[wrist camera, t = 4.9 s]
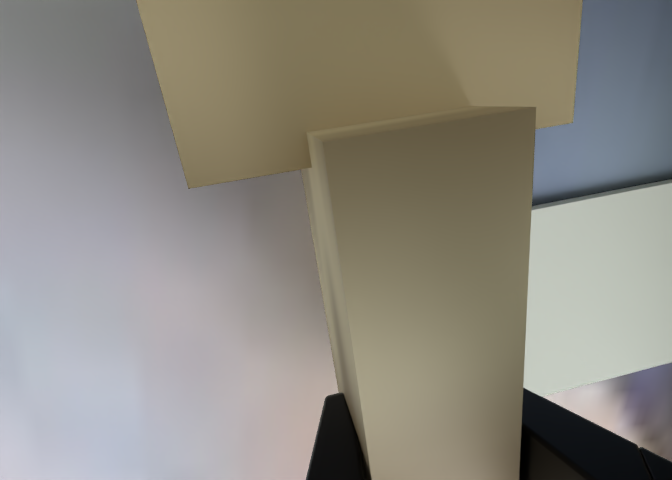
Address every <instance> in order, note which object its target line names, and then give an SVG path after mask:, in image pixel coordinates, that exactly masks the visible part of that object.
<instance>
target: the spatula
mask: <svg viewBox="0 0 672 480" xmlns="http://www.w3.org/2000/svg"><path fill="white" fill-rule="evenodd" d="M136 2H137V6H138V9H139V13H140V16H141V20H142V24H143V27H144V31H145V34H146V38H147V41H148V45H149V49H150V52H151V56H152V59H153V63H154V67H155V70H156V74H157V77H158V81H159V85H160V88H161V92H162V95H163V99H164V102H165V106H166V110H167V113H168V117H169V120H170V124H171V128H172V131H173V135H174V138H175V142H176V145H177V149H178V153H179V156H180V160H181V163H182V167H183V171H184V174H185V178H186V181H187V185H188V189H190V188H196V187H202V186H207V185H213V184H219V183H225V182H231V181H237V180H242V179H248V178H254V177H260V176H266V175H272V174H277V173H283V172H289V171H295V170H301V173H302V179H303V185H304V190H305V196H306V202H307V208H308V214H309V220H310V226H311V232H312V238H313V244H314V249H315V255H316V261H317V267H318V273H319V279H320V285H321V291H322V297H323V303H324V308H325V314H326V320H327V326H328V332H329V338H330V344H331V350H332V356H333V362H334V367H335V373H336V379H337V385H338V391H339V393H341V392H342V393H344V396H345V399H346V402H347V405H348V408H349V411H350V414H351V417H352V420H353V423H354V426H355V429H356V432H357V435H358V438H359V442H360V447H361V453H362V460H363V466H364V473H365V479H366V480H519V468H520V447H521V425H522V404H523V382H524V361H525V339H526V318H527V297H528V275H529V254H530V232H531V211H532V189H533V168H534V147H535V129H540V128H545V127H551V126H557V125H563V124H569V123H573V116H574V103H575V90H576V78H577V65H578V53H579V40H580V28H581V15H582V3H583V0H136Z"/></svg>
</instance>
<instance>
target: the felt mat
mask: <svg viewBox="0 0 672 480" xmlns="http://www.w3.org/2000/svg"><path fill="white" fill-rule="evenodd" d="M670 362H672V179H669V180H664V181H659V182H654V183H649V184H644V185H638V186H633V187H628V188H623V189H618V190H613V191H608V192H602V193H597V194H592V195H587V196H582V197H577V198H571V199H566V200H561V201H556V202H551V203H546V204H540V205H535V206H532V211H531V232H530V254H529V275H528V297H527V318H526V339H525V361H524V382H523V388H525V389H527V390H529V391H531V392H533V393H535V394H537V395H539V396H541V397H543V396H547V395H550V394H554V393H558V392H562V391H565V390H569V389H573V388H577V387H580V386H584V385H588V384H592V383H595V382H599V381H603V380H607V379H610V378H614V377H618V376H622V375H625V374H629V373H633V372H637V371H640V370H644V369H648V368H652V367H655V366H659V365H663V364H667V363H670Z"/></svg>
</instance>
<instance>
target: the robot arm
mask: <svg viewBox="0 0 672 480" xmlns="http://www.w3.org/2000/svg"><path fill="white" fill-rule="evenodd" d="M306 480H366V479H365V473H364V466H363V460H362V453H361V447H360V442H359V438H358V435H357V432H356V429H355V426H354V423H353V420H352V417H351V414H350V411H349V408H348V405H347V402H346V399H345V396H344V393H342V392H341V393H337V394H333V395H329V396H327V397H326V398H325V401H324V406H323V410H322V414H321V418H320V422H319V427H318V431H317V435H316V439H315V443H314V448H313V452H312V456H311V460H310V464H309V469H308V473H307V477H306ZM519 480H672V462H671V461H669V460H667V459H665V458H663V457H661V456H659V455H657V454H655V453H653V452H651V451H649V450H647V449H645V448H643V447H640V448H638V446H637V445H636V444H635V443H633V442H631V441H629V440H627V439H625V438H623V437H621V436H619V435H617V434H615V433H613V432H611V431H609V430H607V429H605V428H603V427H601V426H599V425H597V424H595V423H593V422H591V421H589V420H587V419H585V418H583V417H581V416H579V415H577V414H575V413H573V412H571V411H569V410H567V409H565V408H563V407H561V406H559V405H557V404H555V403H553V402H551V401H549V400H547V399H545V398H543V397H541V396H539V395H537V394H535V393H533V392H531V391H529V390H527V389H525V388H523V404H522V425H521V447H520V468H519Z"/></svg>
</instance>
